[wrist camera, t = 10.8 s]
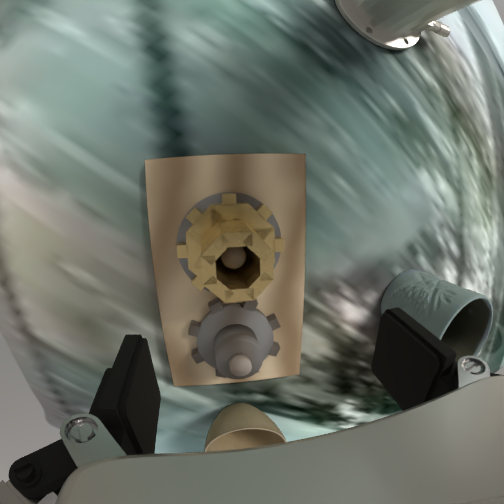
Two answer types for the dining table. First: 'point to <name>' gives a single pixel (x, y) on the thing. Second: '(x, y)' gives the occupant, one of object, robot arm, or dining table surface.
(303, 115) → the dining table surface
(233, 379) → the gear board
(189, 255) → the brass gear
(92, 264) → the dining table surface
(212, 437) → the flower pot
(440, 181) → the dining table surface
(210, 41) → the dining table surface
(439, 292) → the grey cup
